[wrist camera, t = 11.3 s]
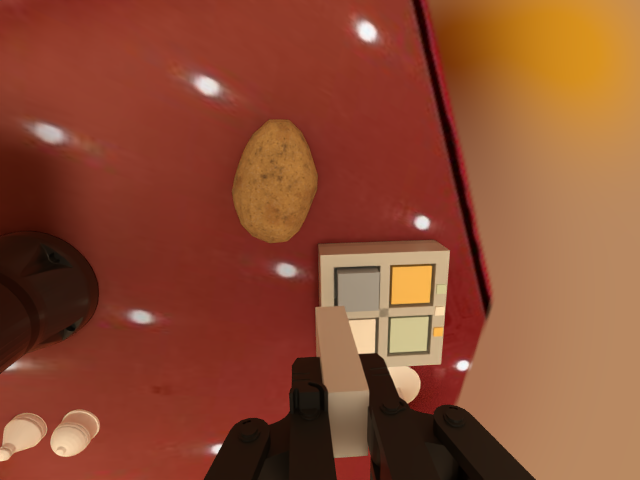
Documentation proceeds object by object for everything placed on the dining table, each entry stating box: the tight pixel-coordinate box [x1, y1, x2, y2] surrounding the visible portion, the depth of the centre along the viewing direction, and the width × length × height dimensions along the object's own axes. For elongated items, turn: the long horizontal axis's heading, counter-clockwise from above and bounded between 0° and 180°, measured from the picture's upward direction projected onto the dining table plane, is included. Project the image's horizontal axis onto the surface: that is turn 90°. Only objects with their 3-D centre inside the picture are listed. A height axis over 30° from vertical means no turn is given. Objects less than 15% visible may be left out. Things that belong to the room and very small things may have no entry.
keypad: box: [318, 240, 450, 367], centre depth 48 cm, size 16×16×6 cm
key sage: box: [387, 315, 429, 353], centre depth 48 cm, size 5×5×3 cm
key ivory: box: [348, 318, 376, 354], centre depth 47 cm, size 5×5×3 cm
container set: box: [0, 409, 100, 461], centre depth 50 cm, size 20×5×6 cm, turn 91°
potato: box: [232, 120, 318, 243], centre depth 41 cm, size 10×14×8 cm
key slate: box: [336, 266, 380, 312], centre depth 44 cm, size 5×5×3 cm
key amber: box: [389, 264, 432, 304], centre depth 46 cm, size 5×5×3 cm
